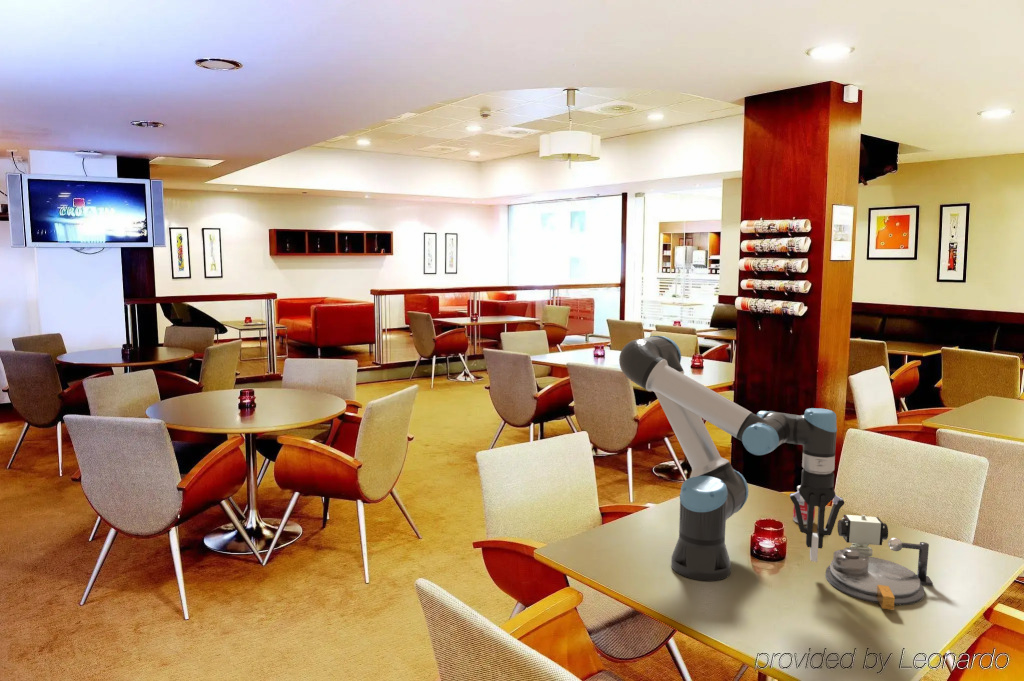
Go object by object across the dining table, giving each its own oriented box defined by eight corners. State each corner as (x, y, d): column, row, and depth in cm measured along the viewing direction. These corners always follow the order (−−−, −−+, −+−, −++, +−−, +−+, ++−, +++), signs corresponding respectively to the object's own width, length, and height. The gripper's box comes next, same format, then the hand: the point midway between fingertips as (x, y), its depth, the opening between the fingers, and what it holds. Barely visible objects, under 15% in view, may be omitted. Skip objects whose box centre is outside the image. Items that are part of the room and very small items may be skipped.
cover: (835, 574, 172) (836, 554, 172) (830, 560, 180) (831, 542, 180) (870, 578, 170) (872, 559, 170) (864, 564, 178) (865, 546, 177)
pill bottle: (791, 523, 214) (793, 488, 213) (793, 516, 220) (795, 483, 218) (813, 526, 211) (815, 491, 210) (815, 520, 217) (816, 486, 215)
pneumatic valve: (886, 562, 186) (889, 519, 185) (839, 558, 189) (842, 516, 187) (879, 554, 192) (882, 512, 190) (834, 550, 194) (837, 509, 193)
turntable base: (832, 597, 167) (833, 592, 166) (819, 560, 188) (820, 555, 187) (935, 611, 160) (936, 606, 160) (910, 570, 181) (911, 566, 181)
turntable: (840, 602, 162) (841, 590, 162) (824, 558, 186) (825, 547, 186) (937, 615, 156) (938, 603, 156) (907, 568, 181) (908, 557, 180)
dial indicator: (887, 580, 176) (890, 540, 174) (884, 573, 180) (886, 534, 178) (932, 586, 173) (935, 545, 172) (927, 579, 177) (931, 539, 175)
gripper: (791, 472, 173) (787, 562, 176) (848, 476, 169) (843, 568, 172) (789, 463, 180) (785, 550, 183) (843, 468, 176) (838, 556, 179)
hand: (813, 559), depth 177 cm, fingers closed
